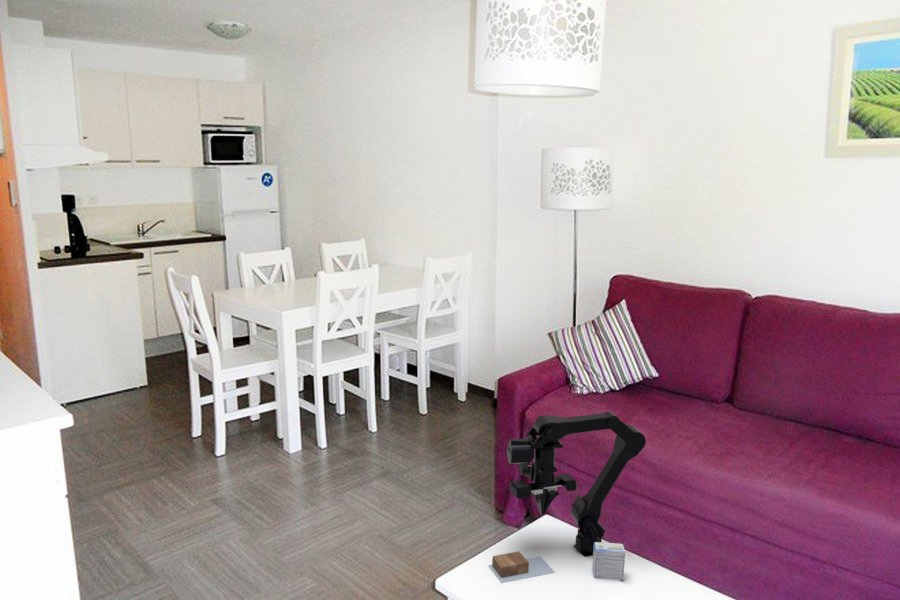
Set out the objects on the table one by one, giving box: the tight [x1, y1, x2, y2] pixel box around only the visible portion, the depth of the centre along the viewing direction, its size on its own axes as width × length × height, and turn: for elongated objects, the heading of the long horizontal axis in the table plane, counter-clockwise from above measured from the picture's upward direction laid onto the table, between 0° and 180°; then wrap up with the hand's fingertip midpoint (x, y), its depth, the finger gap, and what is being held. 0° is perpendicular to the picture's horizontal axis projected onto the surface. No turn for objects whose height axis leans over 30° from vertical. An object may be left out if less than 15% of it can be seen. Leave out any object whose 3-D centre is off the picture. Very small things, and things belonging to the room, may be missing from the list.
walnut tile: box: [491, 550, 529, 577], centre depth 189 cm, size 3×6×8 cm
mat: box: [487, 555, 556, 584], centre depth 189 cm, size 16×9×1 cm, turn 110°
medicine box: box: [591, 541, 626, 582], centre depth 187 cm, size 8×4×9 cm, turn 84°
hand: (542, 514), depth 196 cm, fingers closed
